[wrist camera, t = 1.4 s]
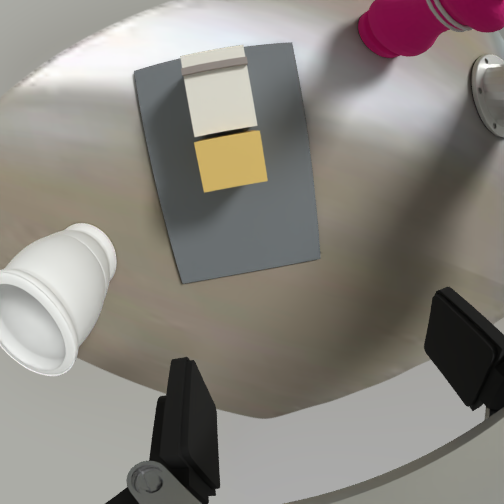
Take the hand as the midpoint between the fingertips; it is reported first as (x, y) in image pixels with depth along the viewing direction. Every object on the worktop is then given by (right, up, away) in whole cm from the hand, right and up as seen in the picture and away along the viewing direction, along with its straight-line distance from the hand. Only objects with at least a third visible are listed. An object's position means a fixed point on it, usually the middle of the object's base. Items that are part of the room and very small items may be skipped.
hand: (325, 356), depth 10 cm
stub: (-5, +13, +18) cm, 23 cm away
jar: (-22, +3, +22) cm, 31 cm away
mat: (-5, +13, +19) cm, 23 cm away
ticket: (-6, +19, +16) cm, 25 cm away
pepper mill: (+12, +28, +14) cm, 34 cm away
